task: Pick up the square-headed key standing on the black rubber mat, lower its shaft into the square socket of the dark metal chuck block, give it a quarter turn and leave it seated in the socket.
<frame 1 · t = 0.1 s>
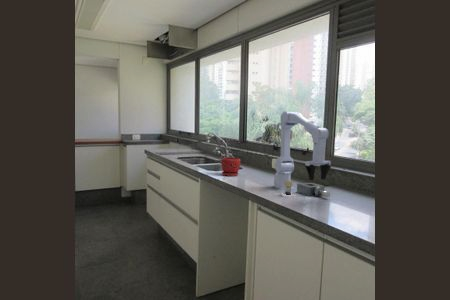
hand: (317, 179, 158), 10 cm above the worktop, tool pointing down, fingers open, 7 cm apart
mat: (287, 195, 166), on the worktop
chuck: (310, 194, 171), on the worktop
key: (287, 194, 165), resting on mat
plant pot: (230, 175, 222), on the worktop
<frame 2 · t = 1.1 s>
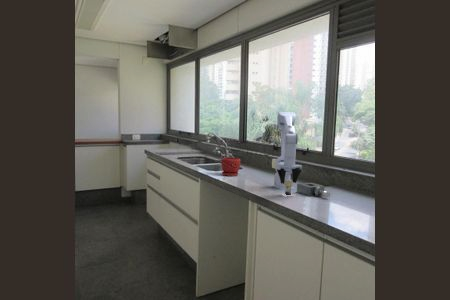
hand: (288, 182, 165), 7 cm above the worktop, tool pointing down, fingers open, 7 cm apart
nothing on the worktop moved.
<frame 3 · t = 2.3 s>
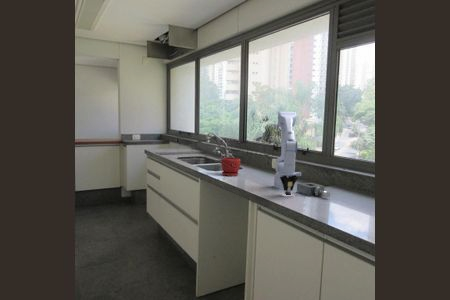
hand: (288, 190, 165), 3 cm above the worktop, tool pointing down, fingers closed on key, 3 cm apart
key: (287, 194, 165), resting on mat, touching gripper
everything else where it was.
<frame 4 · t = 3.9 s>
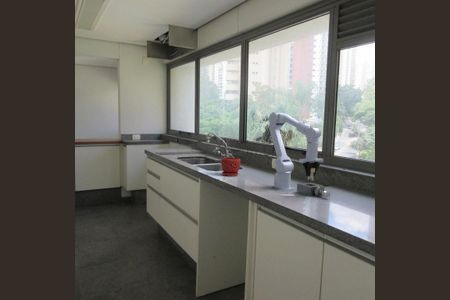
hand: (310, 176, 170), 10 cm above the worktop, tool pointing down, fingers closed on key, 3 cm apart
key: (310, 180, 170), point 7 cm above the worktop, touching gripper
everything else where it was.
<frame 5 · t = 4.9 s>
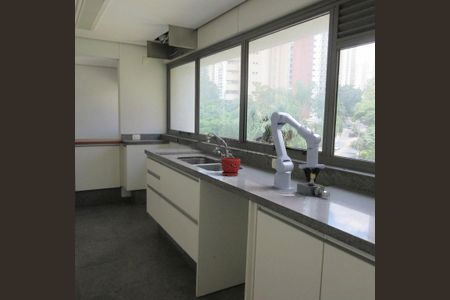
hand: (310, 181, 170), 7 cm above the worktop, tool pointing down, fingers closed on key, 3 cm apart
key: (310, 186, 170), point 4 cm above the worktop, touching gripper
everything else where it was.
when the fingers open (5 cm above the worktop, at t = 5.5 s): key stays where it is, resting on chuck.
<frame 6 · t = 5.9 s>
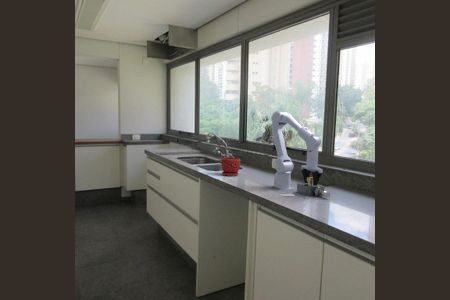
hand: (310, 184, 170), 5 cm above the worktop, tool pointing down, fingers open, 6 cm apart
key: (310, 190, 171), point 2 cm above the worktop, touching chuck
everything else where it was.
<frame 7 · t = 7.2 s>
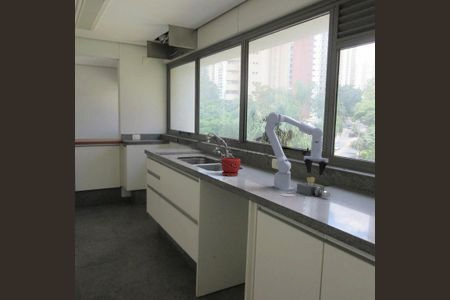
hand: (314, 173, 177), 10 cm above the worktop, tool pointing down, fingers open, 7 cm apart
nothing on the worktop moved.
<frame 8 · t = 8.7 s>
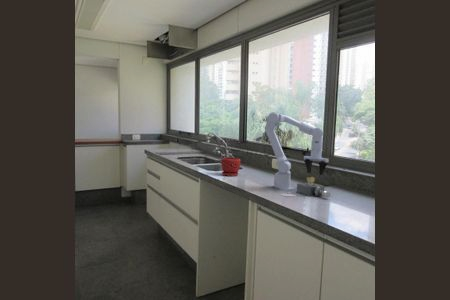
hand: (315, 173, 177), 10 cm above the worktop, tool pointing down, fingers open, 7 cm apart
nothing on the worktop moved.
at the end: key 0.1 cm off-centre on the chuck, point 2.0 cm above the chuck's base; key tilted 1°; the gripper is holding nothing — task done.
